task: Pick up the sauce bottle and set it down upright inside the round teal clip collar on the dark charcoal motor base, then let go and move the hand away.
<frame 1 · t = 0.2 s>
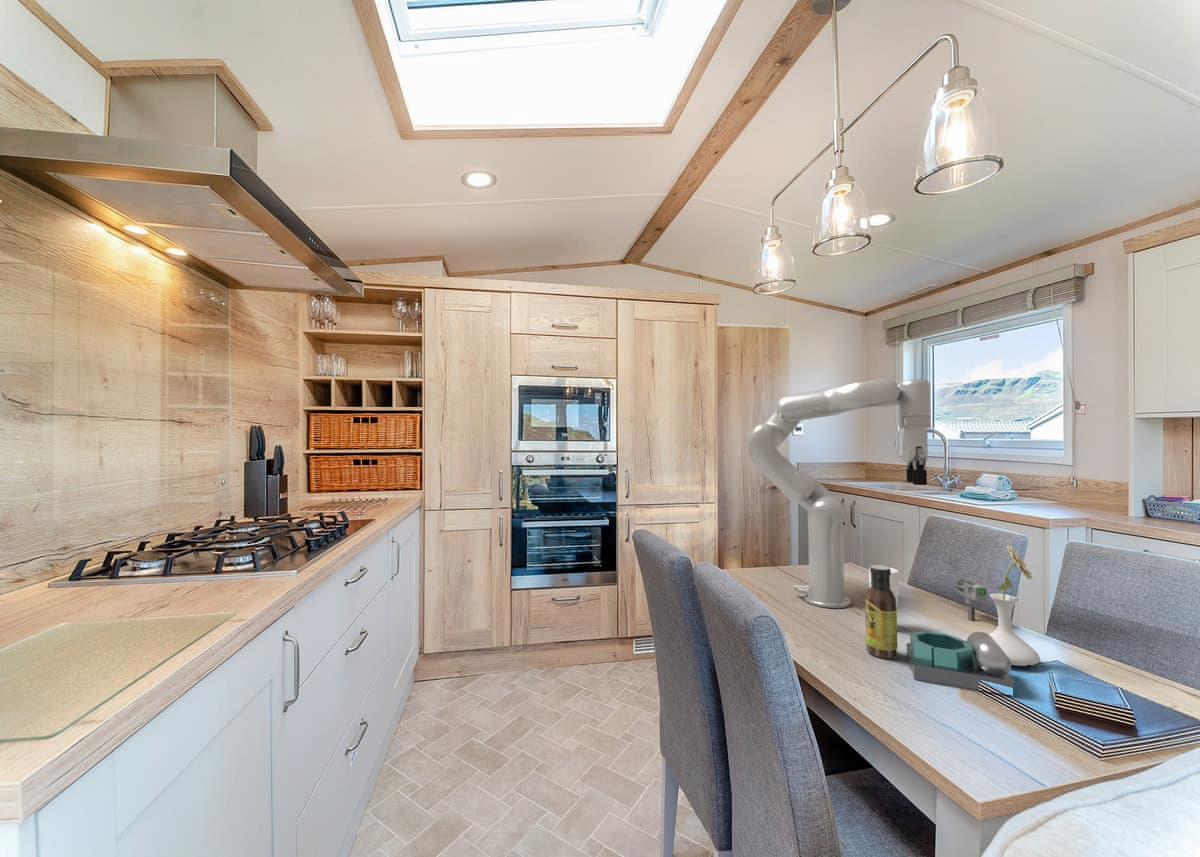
hand: (916, 483, 139), 37 cm above the table, tool pointing down, fingers open, 9 cm apart
motor base: (955, 674, 101), on the table
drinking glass: (884, 628, 128), on the table
flower in vase: (1007, 659, 109), on the table
sauce bottle: (881, 655, 112), on the table
mechanical component: (971, 620, 133), on the table
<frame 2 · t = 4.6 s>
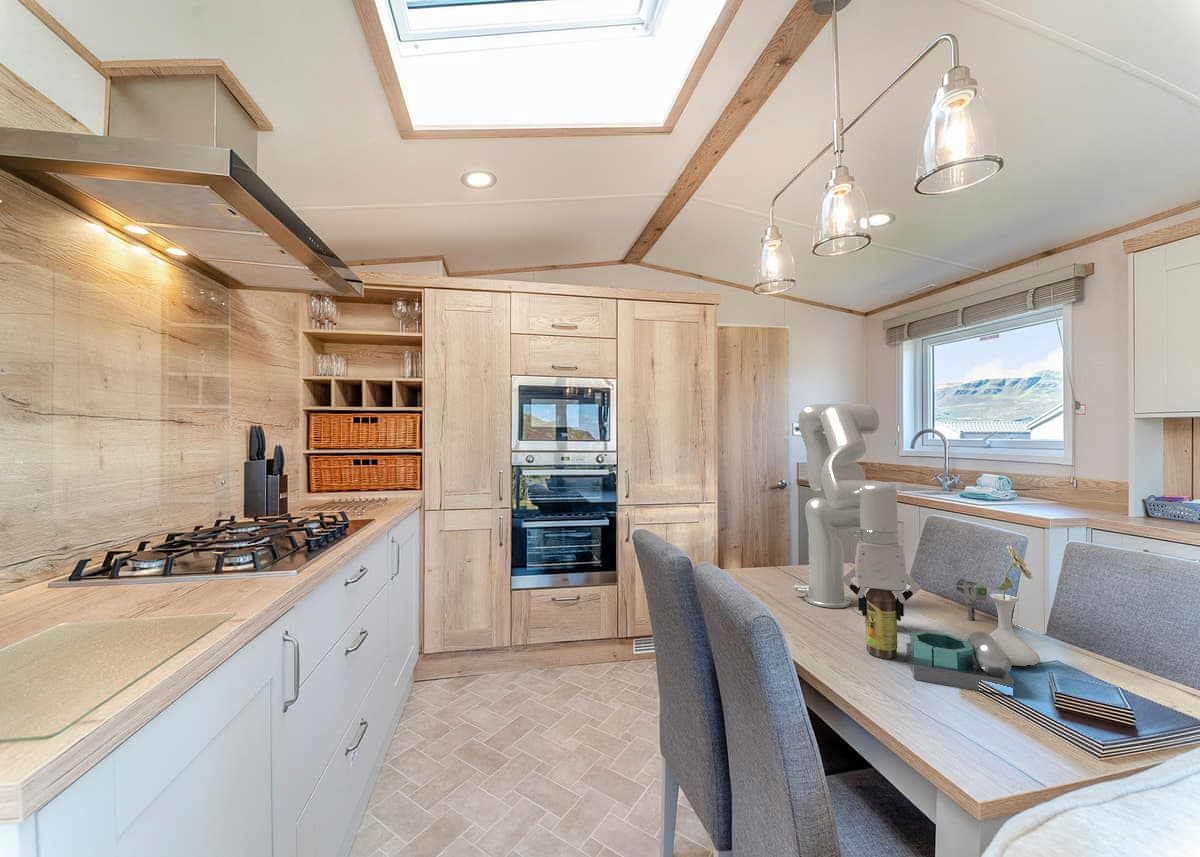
hand: (880, 615, 112), 9 cm above the table, tool pointing down, fingers closed on sauce bottle, 6 cm apart
sauce bottle: (881, 655, 112), on the table, touching gripper
everything else where it was.
when the fingers open (13 cm above the table, at t = 10.1 s): sauce bottle drops 1 cm, resting on motor base.
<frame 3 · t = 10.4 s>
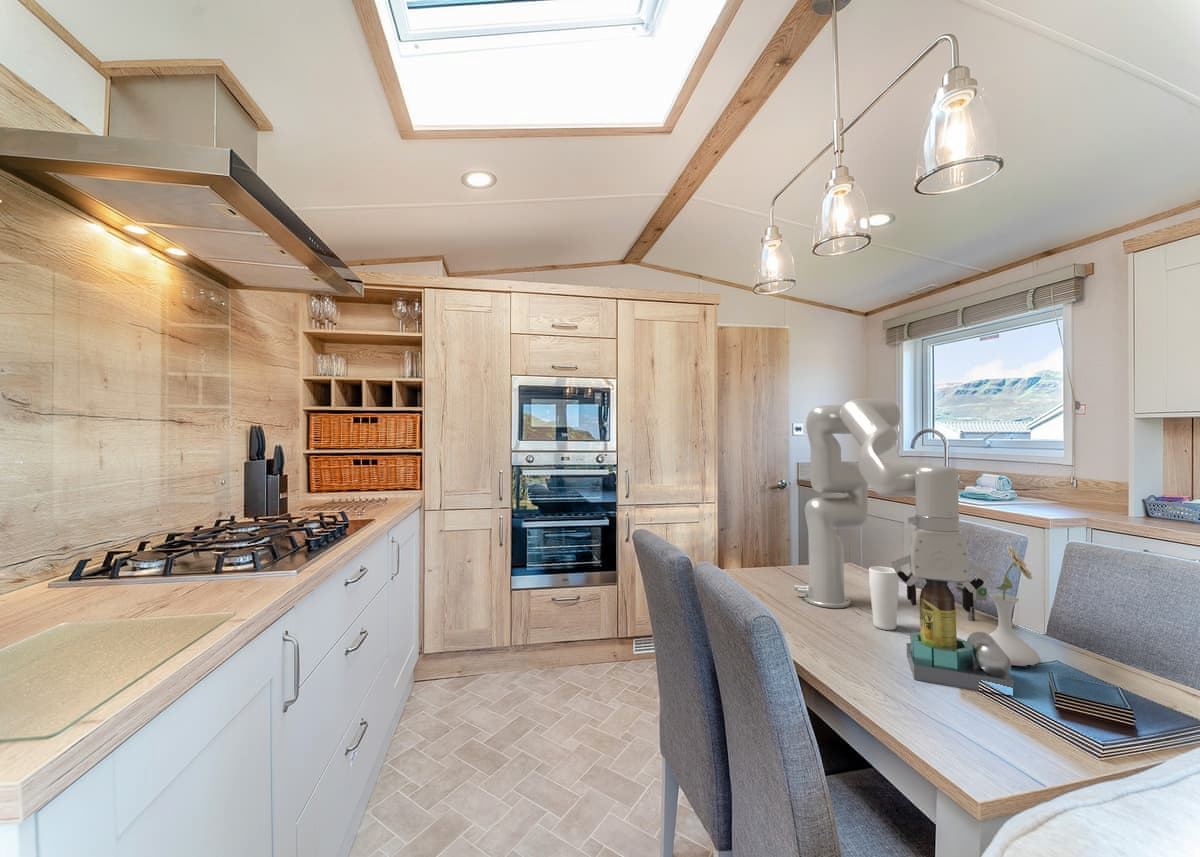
hand: (939, 606, 103), 14 cm above the table, tool pointing down, fingers open, 9 cm apart
sauce bottle: (939, 658, 103), point 3 cm above the table, touching motor base
everything else where it was.
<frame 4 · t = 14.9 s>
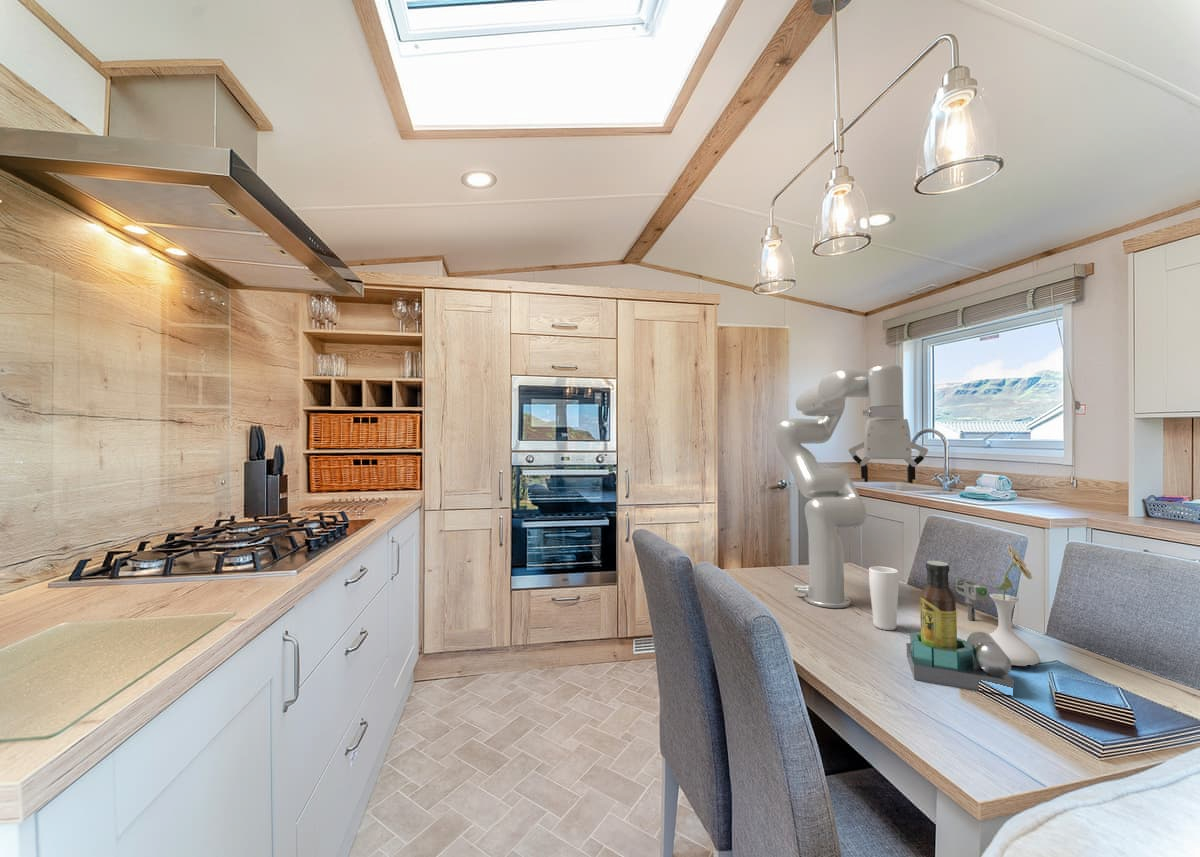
hand: (887, 482, 123), 38 cm above the table, tool pointing down, fingers open, 9 cm apart
nothing on the table moved.
at the end: sauce bottle 0.4 cm from the target spot on the motor base, point 2.8 cm above the motor base's base; sauce bottle tilted 0°; the gripper is holding nothing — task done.
